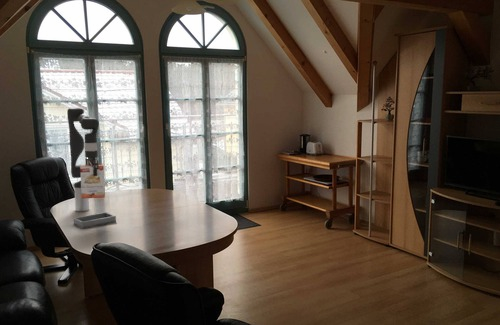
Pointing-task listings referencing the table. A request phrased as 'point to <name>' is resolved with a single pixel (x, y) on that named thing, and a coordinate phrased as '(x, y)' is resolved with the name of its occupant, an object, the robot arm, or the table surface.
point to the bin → (94, 220)
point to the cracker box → (92, 182)
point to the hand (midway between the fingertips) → (92, 175)
